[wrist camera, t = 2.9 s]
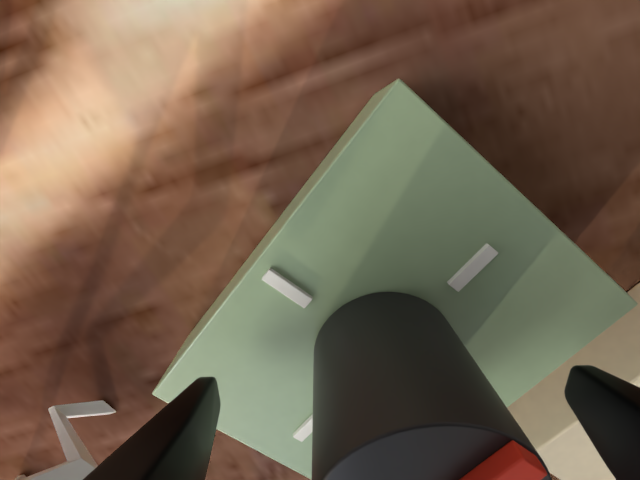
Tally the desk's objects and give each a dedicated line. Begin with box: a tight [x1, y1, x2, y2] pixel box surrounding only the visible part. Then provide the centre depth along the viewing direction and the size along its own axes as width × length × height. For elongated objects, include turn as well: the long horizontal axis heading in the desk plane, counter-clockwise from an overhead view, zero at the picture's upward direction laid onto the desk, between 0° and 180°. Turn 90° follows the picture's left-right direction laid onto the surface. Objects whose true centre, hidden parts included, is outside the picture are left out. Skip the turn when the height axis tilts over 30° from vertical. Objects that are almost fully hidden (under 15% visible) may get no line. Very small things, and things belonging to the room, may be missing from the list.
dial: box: [312, 292, 551, 480], centre depth 7 cm, size 4×4×4 cm
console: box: [153, 79, 638, 480], centre depth 10 cm, size 11×9×3 cm
